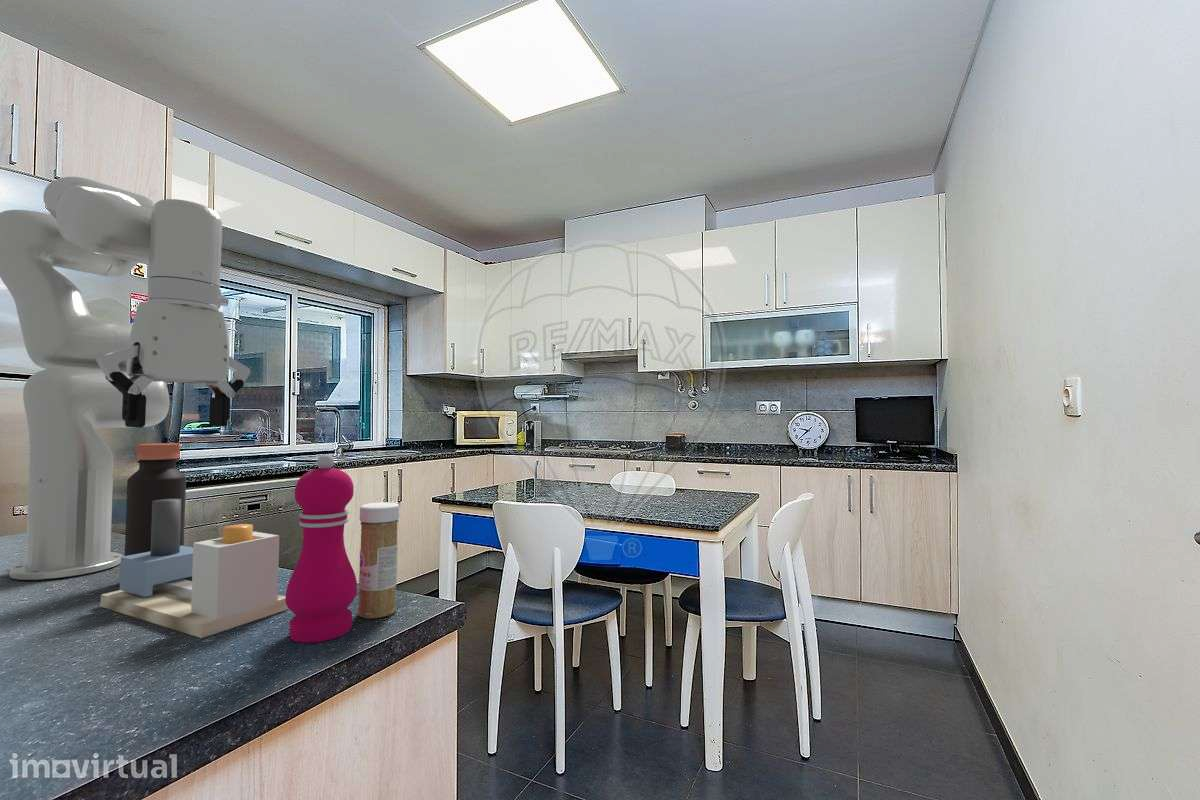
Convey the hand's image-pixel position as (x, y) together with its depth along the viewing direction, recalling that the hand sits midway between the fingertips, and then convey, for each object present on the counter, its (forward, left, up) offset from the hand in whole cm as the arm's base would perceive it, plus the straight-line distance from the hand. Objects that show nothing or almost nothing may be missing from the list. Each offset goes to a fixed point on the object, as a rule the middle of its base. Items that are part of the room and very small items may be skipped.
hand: (179, 426), depth 71 cm
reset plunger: (+14, 0, -16) cm, 21 cm away
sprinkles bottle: (+27, +9, -23) cm, 37 cm away
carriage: (-2, 0, -21) cm, 21 cm away
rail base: (+5, 0, -23) cm, 23 cm away
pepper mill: (+26, +2, -23) cm, 35 cm away
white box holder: (+14, 0, -21) cm, 25 cm away
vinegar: (-13, +4, -23) cm, 27 cm away
